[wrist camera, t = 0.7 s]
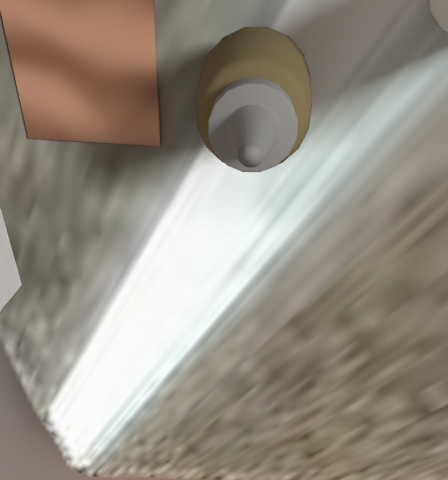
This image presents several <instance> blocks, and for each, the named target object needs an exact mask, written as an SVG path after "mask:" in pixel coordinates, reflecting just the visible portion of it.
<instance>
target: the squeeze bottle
mask: <svg viewBox="0 0 448 480" xmlns="http://www.w3.org/2000/svg"><path fill="white" fill-rule="evenodd" d="M310 113H311V79H310V73H309V70H308V67H307V64H306V60H305V57H304V54H303V53H302V52H301V51H300V49H299V48H298V47H297V46H296V45H295V44H294V42H293V41H292V40H291V39H290V38H289V37H288V36H286V35H284V34H282V33H279V32H277V31H275V30H273V29H271V28H269V27H244V28H242V29H240V30H238V31H236V32H234V33H232V34H230V35H227V36H225V37H223V38H222V40H221V41H220V42H219V43H218V44H217V45H216V46H215V48H214V49H213V50H212V51H211V52H210V53H209V54H208V57H207V59H206V62H205V65H204V68H203V71H202V74H201V77H200V85H199V92H198V100H197V121H198V129H199V131H200V134H201V136H202V138H203V140H204V142H205V144H206V147H207V148H208V149H209V150H210V151H211V152H212V153H213V154H214V155H215V156H216V157H217V158H219V159H220V160H221V161H222V162H223V163H226V164H227V165H228V166H230V167H233V168H235V169H238V170H240V171H242V172H261V171H264V170H267V169H269V168H272V167H275V166H277V165H278V164H280V163H283V162H284V161H285V160H286V159H287V158H288V157H289V156H291V155H292V154H293V153H294V152H295V151H296V150H297V149H299V147H300V145H301V143H302V141H303V139H304V137H305V135H306V133H307V131H308V129H309V123H310Z"/></svg>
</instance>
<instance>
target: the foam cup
mask: <svg viewBox="0 0 448 480" xmlns="http://www.w3.org/2000/svg"><path fill="white" fill-rule="evenodd" d="M429 2H430V12H431V13H432V15H433V17H434V18H435V20H436V22H437V23H438V25H439V26H440V27H441V28H442V29H443V30H444V31H446V32H447V33H448V0H429Z"/></svg>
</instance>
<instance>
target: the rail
mask: <svg viewBox="0 0 448 480" xmlns="http://www.w3.org/2000/svg"><path fill="white" fill-rule="evenodd" d="M0 11H1V15H2V20H3V25H4V29H5V34H6V38H7V43H8V47H9V52H10V57H11V61H12V66H13V70H14V75H15V80H16V84H17V89H18V93H19V98H20V103H21V107H22V112H23V116H24V121H25V126H26V130H27V135H28V138H33V139H49V140H66V141H82V142H98V143H115V144H131V145H148V146H160V145H161V142H160V120H159V98H158V76H157V54H156V32H155V10H154V0H0Z"/></svg>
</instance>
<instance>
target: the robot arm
mask: <svg viewBox="0 0 448 480" xmlns="http://www.w3.org/2000/svg"><path fill="white" fill-rule="evenodd" d="M21 285H22V284H21V281H20V277H19V274H18V270H17V266H16V263H15V259H14V256H13V252H12V248H11V245H10V241H9V237H8V234H7V230H6V227H5V223H4V219H3V216H2V212H1V209H0V311H1V310H2V308H3V307H4V306H5V305H6V304H7V302H8V301H9V300H10V299H11V297H12V296H13V295H14V294H15V293H16V291H17V290H18V289H19V288H20V286H21Z"/></svg>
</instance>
